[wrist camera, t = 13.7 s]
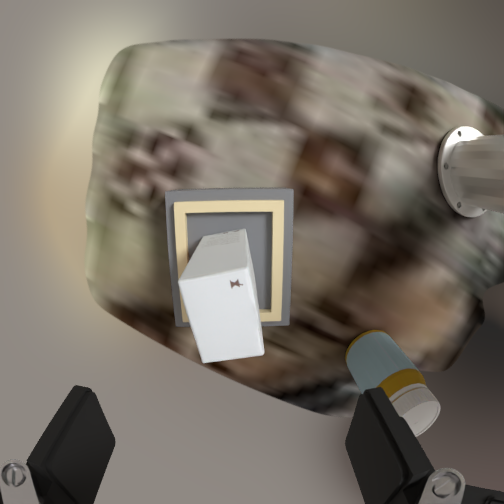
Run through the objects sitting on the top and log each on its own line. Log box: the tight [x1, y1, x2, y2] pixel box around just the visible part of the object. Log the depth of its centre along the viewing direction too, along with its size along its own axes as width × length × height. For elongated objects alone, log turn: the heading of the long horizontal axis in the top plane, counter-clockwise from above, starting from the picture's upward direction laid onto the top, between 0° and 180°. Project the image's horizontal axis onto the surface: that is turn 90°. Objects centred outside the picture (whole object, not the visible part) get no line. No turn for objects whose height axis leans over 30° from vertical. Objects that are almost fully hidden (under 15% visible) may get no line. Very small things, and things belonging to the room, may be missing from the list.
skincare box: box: [178, 229, 264, 363], centre depth 22 cm, size 6×4×12 cm
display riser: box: [165, 188, 293, 327], centre depth 30 cm, size 12×14×5 cm
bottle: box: [345, 330, 440, 437], centre depth 29 cm, size 7×7×15 cm
